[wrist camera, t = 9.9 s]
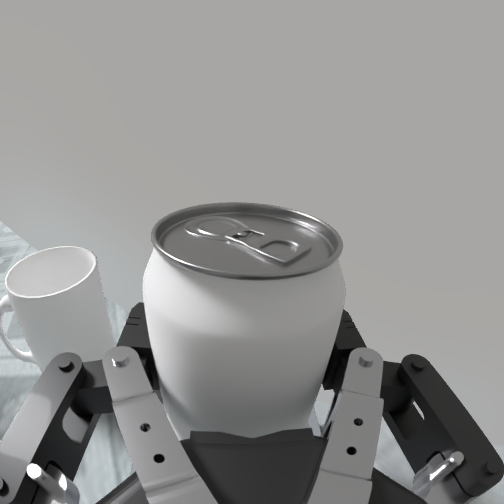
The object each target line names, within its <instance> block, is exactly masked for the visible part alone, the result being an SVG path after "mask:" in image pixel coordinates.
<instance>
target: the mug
mask: <svg viewBox="0 0 504 504" xmlns="http://www.w3.org/2000/svg"><path fill="white" fill-rule="evenodd" d="M5 288H6V291H7V295H6V296H4V297H3V298H2V300H1V301H0V337H1V339H2V341H3V343H4V344H5V346H6V347H7V348H8V350H9V351H10V352H11V353H12V354H13V355H14V356H15V357H16V358H18V359H20V360H22V361H24V362H32V363H34V364H37V365H38V366H39V368H40V370H41V372H42V373H43V372H44V370H45V369H46V367H47V366H48V364H49V363H50V361H51V360H52V359H53V358H54V357H55V356H57V355H58V354H61V353H65V352H71V353H75V354H77V355H78V356H79V357H80V358H81V360H82V362H89V361H97V360H101V359H103V356H104V354H105V353H106V352H107V351H108V350H110V349H112V348H114V347H116V343H115V339H114V336H113V332H112V328H111V324H110V320H109V316H108V312H107V307H106V303H105V298H104V294H103V289H102V284H101V279H100V274H99V269H98V262H97V257H96V256H95V255H94V253H93V252H91V251H89V250H88V249H85V248H81V247H75V246H63V247H62V246H61V247H54V248H49V249H45V250H42V251H38V252H36V253H33V254H31V255H29V256H27V257H25V258H24V259H22V260H20V261H19V262H18V263H16V264H15V265H14V266H13V267H12V268H11V269H10V270H9V272H8V273H7V275H6V278H5ZM12 311H14V313H15V315H16V318H17V320H18V323H19V326H20V328H21V331H22V333H23V335H24V337H25V340H26V342H27V344H28V346H29V348H30V351H29V352H22V351H19V350H18V349H16V348H15V347H14V346H13V345H12V344H11V342H10V341H9V340H8V338H7V336H6V334H5V332H4V327H3V314H4V312H12Z"/></svg>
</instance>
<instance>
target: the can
mask: <svg viewBox="0 0 504 504" xmlns="http://www.w3.org/2000/svg"><path fill="white" fill-rule="evenodd" d="M151 241H152V244H153V246H154V250H153V253H152V255H151V257H150V260H149V262H148V264H147V267H146V270H145V273H144V277H143V298H144V307H145V314H146V321H147V327H148V333H149V339H150V344H151V348H152V354H153V359H154V364H155V368H156V373H157V377H158V382H159V386H160V391H161V395H162V399H163V403H164V407H165V411H166V415H167V417H168V419H169V422H170V424H171V426H172V428H173V430H174V431H175V433H176V435H177V437H178V439H179V441H180V440H184V439H190V431H211V432H224V433H229V434H233V435H238V436H243V437H249V438H256V437H260V436H264V435H267V434H271V433H275V432H278V431H282V430H291V429H303V428H305V427H306V425H307V422H308V420H309V417H310V414H311V412H312V409H313V406H314V404H315V401H316V398H317V395H318V392H319V389H320V386H321V384H322V381H323V378H324V375H325V371H326V368H327V365H328V362H329V359H330V356H331V352H332V349H333V346H334V342H335V339H336V335H337V331H338V328H339V324H340V320H341V316H342V312H343V307H344V301H345V284H344V279H343V275H342V271H341V268H340V264H339V260H338V258H339V256H340V255H341V252H342V249H343V242H342V239H341V237H340V235H339V234H338V232H337V231H336V230H335V229H333V228H332V227H331V226H330V225H328V224H327V223H325V222H323V221H322V220H320V219H318V218H315V217H313V216H311V215H308V214H305V213H302V212H299V211H296V210H292V209H287V208H283V207H278V206H273V205H265V204H257V203H237V202H235V203H234V202H231V203H213V204H205V205H198V206H193V207H189V208H185V209H182V210H179V211H176V212H173V213H171V214H169V215H167V216H165V217H164V218H162V219H161V220H159V221H158V222H157V223H156V224H155V226H154V227H153V229H152V232H151Z"/></svg>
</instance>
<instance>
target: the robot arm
mask: <svg viewBox="0 0 504 504" xmlns="http://www.w3.org/2000/svg"><path fill="white" fill-rule="evenodd" d="M322 384H323V388H324V390H330V389H333V390H334V393H335V394H334V397H333V399H332V402H331V405H330V409H329V412H328V415H327V418H326V421H325V424H324V428H323V431H322V433H321V436H314V435H313V431H312V428H303V429H291V430H282V431H278V432H275V433H271V434H267V435H264V436H260V437H256V438H249V437H243V436H238V435H233V434H229V433H224V432H211V431H190V439H184V440H180V441H179V439H178V437H177V435H176V433H175V431H174V430H173V428H172V426H171V424H170V422H169V419H168V417H167V415H166V413H165V411H164V409H163V407H162V405H161V403H160V401H159V398H158V396H157V394H156V392H155V391H154V392H153V390H160V386H159V382H158V377H157V373H156V368H155V364H154V359H153V354H152V348H151V344H150V339H149V333H148V327H147V321H146V314H145V307H144V303H138V304H137V305H136V306H135V307H133V308H132V310H131V312H130V314H129V317H128V319H127V321H126V325H125V326H124V329H123V331H122V334H121V336H120V339H119V341H118V344H117V346H116V347H114V348H112V349H110V350H108V351H107V352H106V353H105V354H104V356H103V359H101V360H97V361H89V362H82V360H81V358H80V357H79V356H78V355H77V354H75V353H71V352H65V353H61V354H58V355H57V356H55V357H54V358H53V359H52V360H51V361H50V363H49V364H48V366H47V367H46V369H45V370H44V372H43V373H42V375H41V376H40V378H39V379H38V381H37V382H36V384H35V385H34V387H33V388H32V390H31V391H30V393H29V395H28V396H27V398H26V399H25V401H24V403H23V404H22V406H21V407H20V409H19V411H18V412H17V414H16V416H15V417H14V419H13V421H12V422H11V424H10V426H9V428H8V429H7V431H6V433H5V435H4V436H3V438H2V440H1V442H0V504H79V499H80V495H79V491H78V488H77V487H76V485H75V484H74V483H73V480H74V477H75V475H76V472H77V470H78V467H79V465H80V462H81V460H82V457H83V455H84V452H85V450H86V448H87V445H88V443H89V441H90V438H91V436H92V434H93V431H94V429H95V427H96V424H97V422H98V420H99V418H100V415H101V414H102V413H111V412H115V415H116V419H117V422H118V425H119V428H120V431H121V434H122V436H123V439H124V442H125V445H126V447H127V450H128V453H129V455H130V458H131V461H132V463H133V465H134V468H135V470H136V471H135V472H134V473H133V474H132V475H131V476H129V477H128V478H127V479H126V480H125V481H123V482H122V483H121V484H120V485H119V486H117V487H116V488H115V489H114V490H112V491H111V492H110V493H109V494H107V495H106V496H105V497H104V498H102V499H101V500H100V501H98V502H97V503H96V504H469V503H470V502H472V501H473V500H475V499H476V498H478V497H479V496H481V495H482V494H483V493H485V492H486V491H488V490H489V489H490V488H492V487H493V486H494V485H496V484H497V483H498V482H499V481H500V480H501V479H502V477H503V475H504V464H503V461H502V459H501V458H500V456H499V455H498V453H497V452H496V450H495V449H494V447H493V446H492V445H491V443H490V442H489V440H488V439H487V437H486V436H485V435H484V433H483V432H482V430H481V429H480V428H479V426H478V425H477V423H476V422H475V421H474V419H473V418H472V417H471V415H470V414H469V412H468V411H467V410H466V408H465V407H464V406H463V404H462V403H461V402H460V400H459V399H458V398H457V397H456V395H455V394H454V393H453V391H452V390H451V389H450V387H449V386H448V385H447V384H446V382H445V381H444V380H443V378H442V377H441V376H440V375H439V373H438V372H437V371H436V370H435V368H434V367H433V366H432V365H431V364H430V362H429V361H428V360H427V359H425V358H424V357H422V356H420V355H416V354H410V355H407V356H405V357H404V358H403V360H402V362H401V363H394V362H387V361H383V359H382V357H381V355H380V354H379V353H377V352H376V351H374V350H372V349H369V348H367V347H366V345H365V343H364V341H363V339H362V337H361V336H360V334H359V332H358V330H357V328H356V326H355V324H354V322H352V319H351V317H350V315H349V313H348V312H346V311H345V310H344V309H343V312H342V316H341V320H340V324H339V328H338V331H337V335H336V339H335V342H334V346H333V349H332V352H331V356H330V359H329V362H328V365H327V368H326V371H325V375H324V378H323V381H322ZM152 389H153V390H152ZM414 401H415V402H416V403H417V405H418V406H419V408H420V409H421V411H422V412H423V414H424V420H423V418H422V417H421V415H420V414H419V412H418V411H417V409H416V408H415V406H414V405H413V402H414ZM382 416H383V418H384V420H385V421H386V423H387V425H388V427H389V428H390V430H391V432H392V434H393V435H394V437H395V439H396V441H397V442H398V444H399V446H400V448H401V449H402V451H403V453H404V455H405V457H406V458H407V460H408V462H409V464H410V466H411V467H412V469H413V471H414V473H415V477H414V481H413V484H414V487H413V492H411V491H410V490H408V489H406V488H405V487H403V486H401V485H400V484H398V483H397V482H395V481H394V480H392V479H390V478H389V477H387V476H386V475H384V474H383V473H381V472H380V471H378V470H377V469H375V468H374V467H373V465H374V460H375V455H376V450H377V445H378V439H379V433H380V426H381V419H382Z"/></svg>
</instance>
